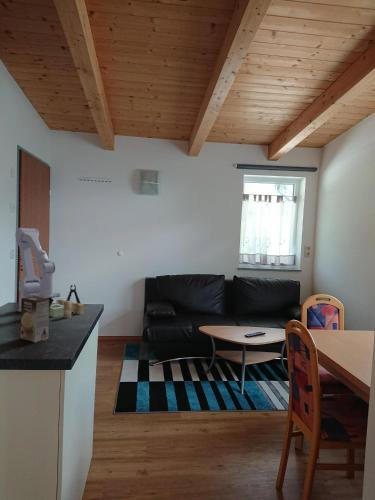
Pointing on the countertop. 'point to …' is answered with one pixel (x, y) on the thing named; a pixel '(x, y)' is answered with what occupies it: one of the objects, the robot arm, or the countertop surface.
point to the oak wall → (73, 306)
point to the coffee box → (34, 318)
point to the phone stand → (75, 294)
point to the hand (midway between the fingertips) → (45, 313)
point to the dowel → (67, 309)
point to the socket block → (56, 310)
